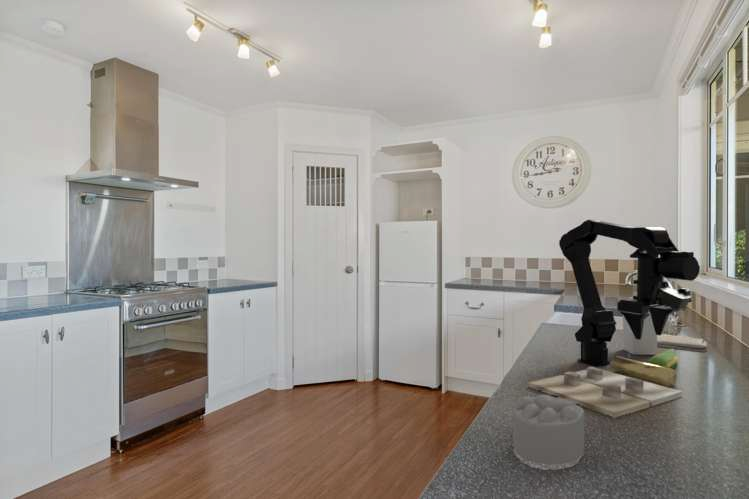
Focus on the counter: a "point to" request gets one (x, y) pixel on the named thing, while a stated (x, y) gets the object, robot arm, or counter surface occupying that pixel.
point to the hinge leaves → (606, 391)
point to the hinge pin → (644, 371)
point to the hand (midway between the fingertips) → (648, 337)
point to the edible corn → (665, 359)
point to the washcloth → (681, 342)
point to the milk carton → (647, 341)
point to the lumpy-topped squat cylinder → (548, 429)
